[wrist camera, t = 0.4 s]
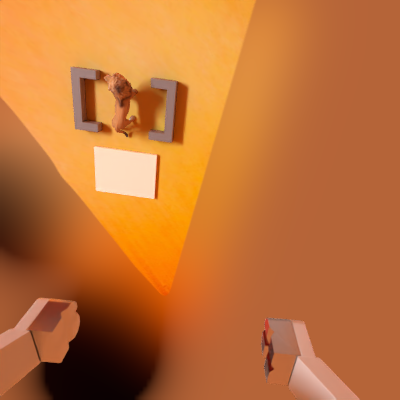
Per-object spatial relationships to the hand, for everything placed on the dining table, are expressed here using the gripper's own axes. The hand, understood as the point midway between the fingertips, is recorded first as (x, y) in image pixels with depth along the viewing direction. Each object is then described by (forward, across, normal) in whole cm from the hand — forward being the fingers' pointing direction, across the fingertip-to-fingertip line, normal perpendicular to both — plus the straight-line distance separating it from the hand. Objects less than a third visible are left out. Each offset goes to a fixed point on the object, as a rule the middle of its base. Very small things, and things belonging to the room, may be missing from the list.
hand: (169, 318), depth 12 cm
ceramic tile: (+47, +17, +12) cm, 51 cm away
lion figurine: (+47, +16, -2) cm, 50 cm away
